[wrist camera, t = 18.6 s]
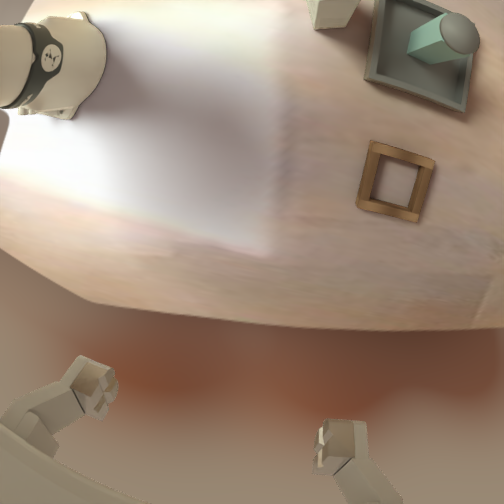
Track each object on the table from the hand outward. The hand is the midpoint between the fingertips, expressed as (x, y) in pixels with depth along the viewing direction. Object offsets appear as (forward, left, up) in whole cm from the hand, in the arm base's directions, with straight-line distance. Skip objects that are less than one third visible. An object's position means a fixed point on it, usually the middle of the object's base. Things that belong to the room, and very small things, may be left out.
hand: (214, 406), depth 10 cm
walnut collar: (+15, +3, -34) cm, 37 cm away
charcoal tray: (+15, +22, -34) cm, 43 cm away
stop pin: (+15, +22, -33) cm, 43 cm away
